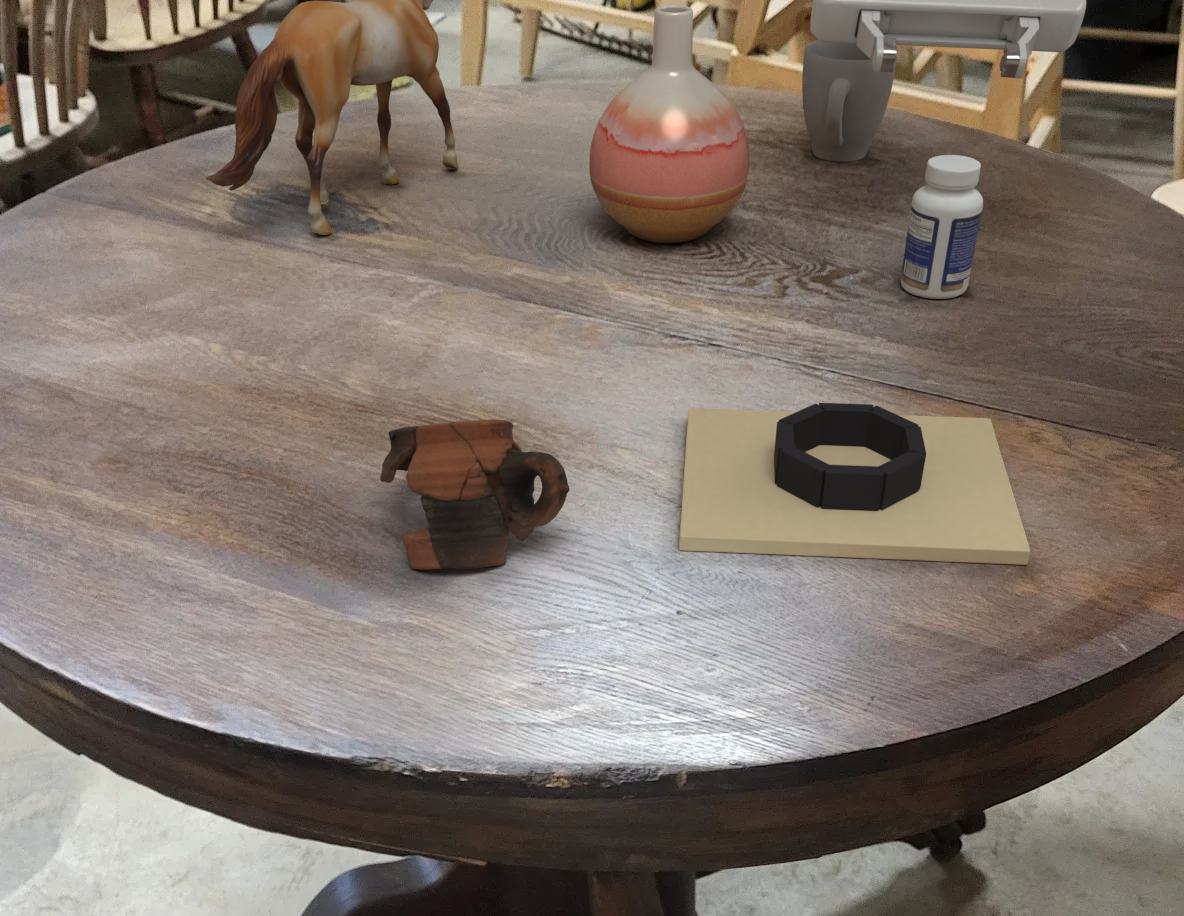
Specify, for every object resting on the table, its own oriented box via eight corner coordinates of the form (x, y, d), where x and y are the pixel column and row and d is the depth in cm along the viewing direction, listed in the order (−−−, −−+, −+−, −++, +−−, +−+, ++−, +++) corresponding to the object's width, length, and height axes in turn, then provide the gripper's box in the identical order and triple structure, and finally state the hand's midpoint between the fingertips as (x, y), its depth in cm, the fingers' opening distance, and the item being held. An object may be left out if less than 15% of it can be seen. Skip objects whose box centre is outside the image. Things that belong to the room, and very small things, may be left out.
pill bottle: (965, 276, 106) (988, 153, 100) (968, 303, 102) (992, 176, 96) (899, 272, 107) (917, 149, 101) (899, 298, 103) (918, 172, 97)
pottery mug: (358, 577, 75) (341, 431, 73) (439, 562, 83) (425, 432, 82) (546, 566, 70) (532, 410, 69) (612, 552, 79) (600, 413, 77)
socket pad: (987, 431, 86) (998, 382, 84) (1027, 565, 74) (1040, 513, 72) (687, 420, 88) (690, 372, 86) (679, 550, 76) (681, 498, 73)
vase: (775, 240, 113) (795, 14, 101) (642, 272, 107) (647, 38, 96) (688, 194, 122) (696, -18, 110) (561, 221, 116) (556, 2, 105)
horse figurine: (436, 149, 132) (417, -86, 119) (498, 161, 129) (485, -78, 116) (216, 246, 113) (163, -22, 99) (283, 264, 109) (237, -11, 96)
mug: (803, 136, 134) (813, 34, 128) (889, 143, 132) (903, 40, 126) (781, 173, 126) (790, 65, 120) (872, 181, 124) (886, 72, 118)
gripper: (813, -92, 99) (813, 19, 93) (1083, -81, 99) (1102, 32, 92) (802, -12, 105) (801, 98, 98) (1057, -1, 104) (1074, 111, 97)
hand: (949, 66), depth 95 cm, fingers open, 8 cm apart
